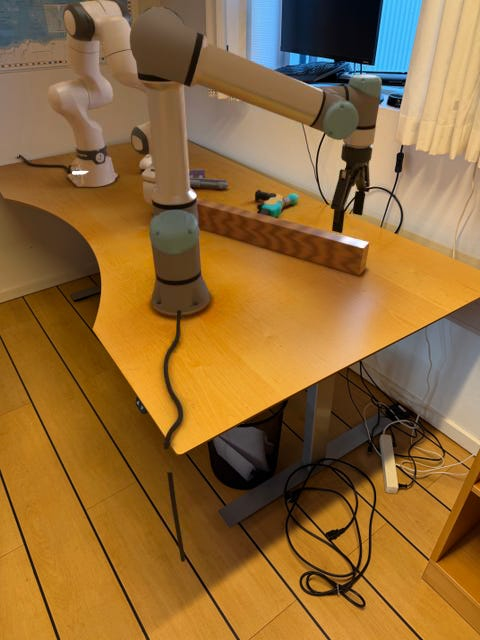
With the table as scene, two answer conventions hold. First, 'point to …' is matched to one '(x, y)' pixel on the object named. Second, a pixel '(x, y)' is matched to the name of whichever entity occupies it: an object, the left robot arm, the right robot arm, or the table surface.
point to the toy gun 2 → (273, 202)
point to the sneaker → (145, 162)
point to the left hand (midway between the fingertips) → (169, 207)
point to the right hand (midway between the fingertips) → (347, 222)
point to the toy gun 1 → (205, 180)
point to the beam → (284, 236)
